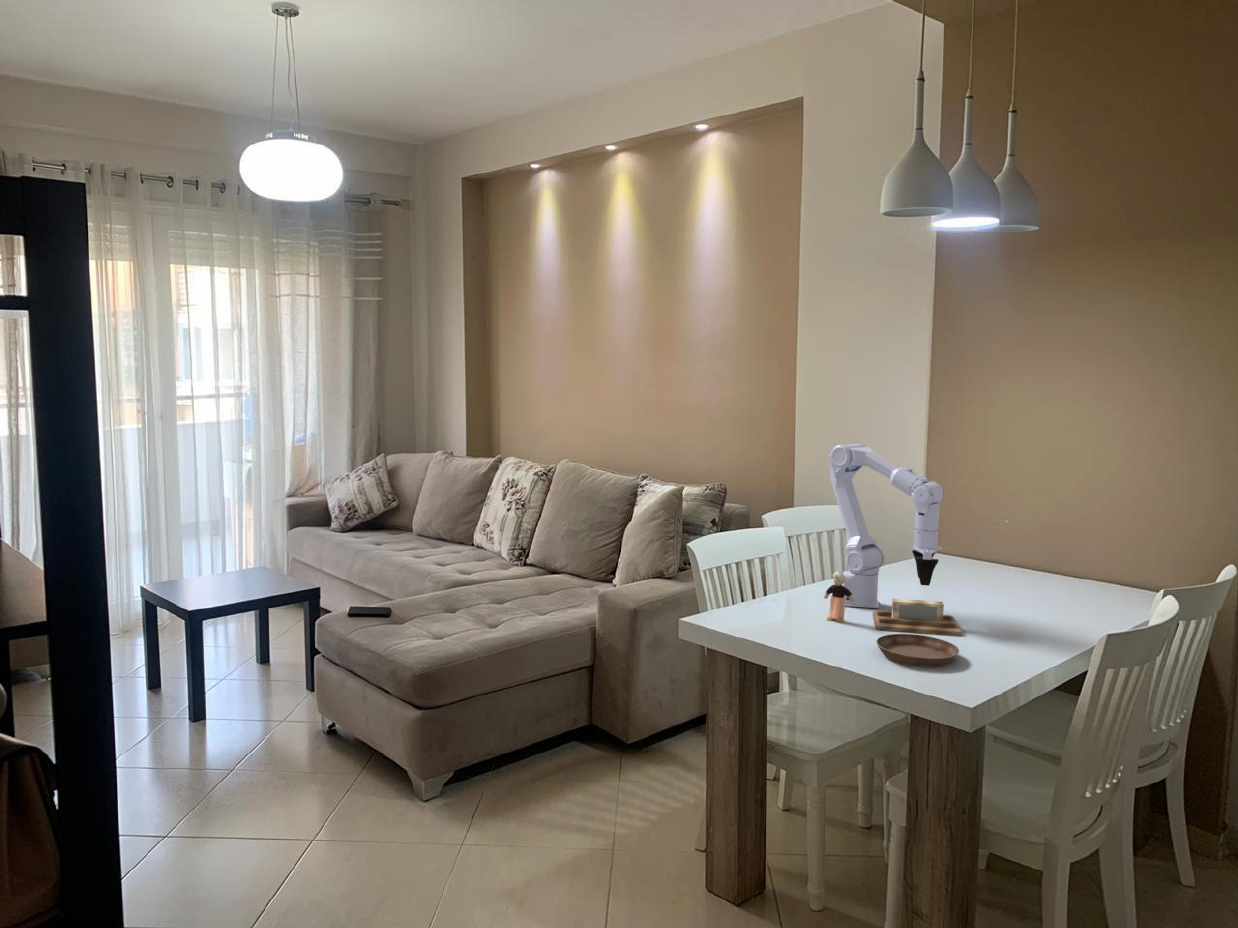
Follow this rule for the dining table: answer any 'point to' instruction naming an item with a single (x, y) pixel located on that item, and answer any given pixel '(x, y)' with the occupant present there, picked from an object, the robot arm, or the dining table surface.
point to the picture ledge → (915, 624)
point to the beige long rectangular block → (917, 610)
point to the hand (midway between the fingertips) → (923, 581)
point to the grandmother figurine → (838, 598)
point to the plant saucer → (917, 650)
